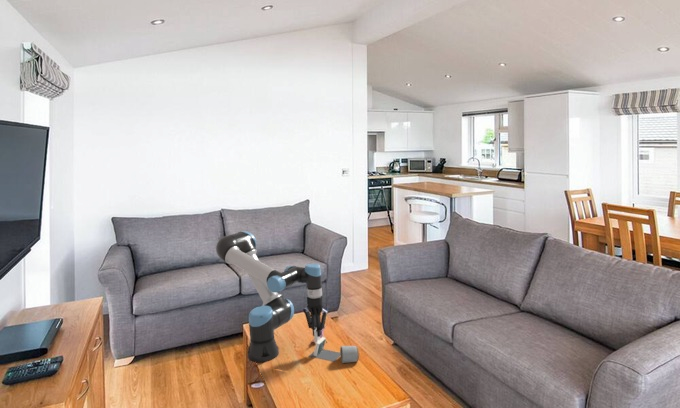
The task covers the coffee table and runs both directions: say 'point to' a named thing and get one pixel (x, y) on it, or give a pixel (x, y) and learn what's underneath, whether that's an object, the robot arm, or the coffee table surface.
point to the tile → (319, 346)
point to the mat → (327, 355)
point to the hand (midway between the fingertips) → (317, 342)
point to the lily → (321, 334)
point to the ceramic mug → (349, 354)
